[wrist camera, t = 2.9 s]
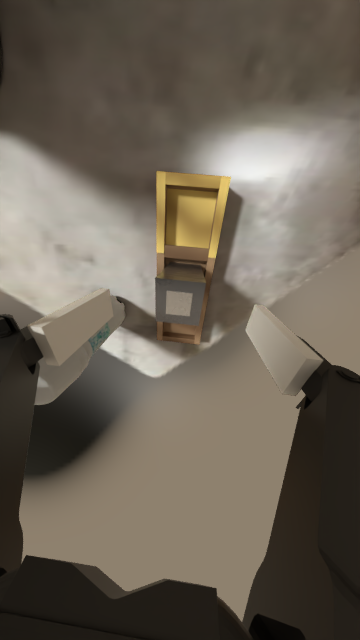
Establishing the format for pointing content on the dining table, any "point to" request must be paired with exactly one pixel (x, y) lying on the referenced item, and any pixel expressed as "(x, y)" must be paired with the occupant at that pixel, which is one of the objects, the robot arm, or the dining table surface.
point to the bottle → (75, 360)
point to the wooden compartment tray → (189, 234)
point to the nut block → (180, 293)
